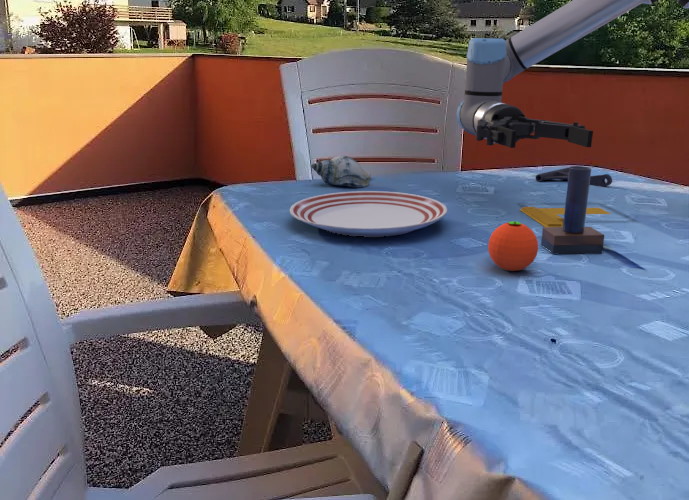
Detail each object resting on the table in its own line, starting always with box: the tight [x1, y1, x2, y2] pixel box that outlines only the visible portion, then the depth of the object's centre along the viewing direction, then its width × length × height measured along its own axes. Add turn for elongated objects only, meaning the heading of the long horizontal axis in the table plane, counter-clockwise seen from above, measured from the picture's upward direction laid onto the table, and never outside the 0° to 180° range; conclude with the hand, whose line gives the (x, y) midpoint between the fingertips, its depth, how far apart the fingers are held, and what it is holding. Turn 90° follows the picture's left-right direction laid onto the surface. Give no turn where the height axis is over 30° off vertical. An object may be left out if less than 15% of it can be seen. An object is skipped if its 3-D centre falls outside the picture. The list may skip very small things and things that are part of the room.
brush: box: [540, 165, 605, 255], centre depth 110 cm, size 8×5×13 cm, turn 96°
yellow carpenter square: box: [520, 206, 612, 227], centre depth 131 cm, size 16×14×1 cm
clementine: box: [487, 220, 539, 272], centre depth 101 cm, size 8×7×7 cm
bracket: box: [535, 166, 613, 187], centre depth 165 cm, size 14×15×3 cm
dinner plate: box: [289, 190, 448, 238], centre depth 124 cm, size 28×27×3 cm
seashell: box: [310, 155, 372, 189], centre depth 156 cm, size 6×8×12 cm
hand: (552, 139), depth 116 cm, fingers open, 13 cm apart
